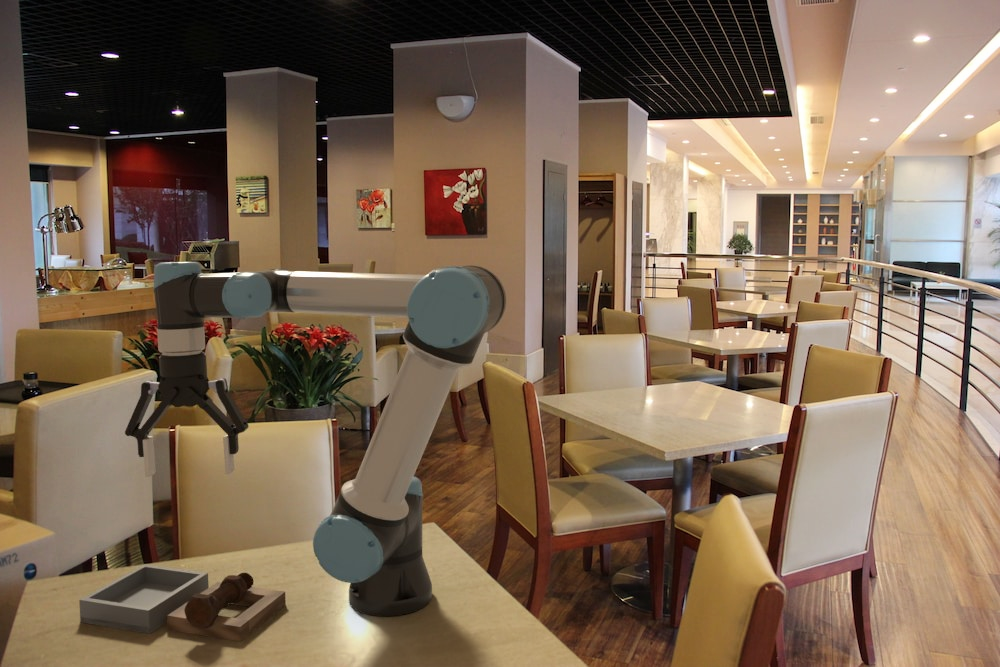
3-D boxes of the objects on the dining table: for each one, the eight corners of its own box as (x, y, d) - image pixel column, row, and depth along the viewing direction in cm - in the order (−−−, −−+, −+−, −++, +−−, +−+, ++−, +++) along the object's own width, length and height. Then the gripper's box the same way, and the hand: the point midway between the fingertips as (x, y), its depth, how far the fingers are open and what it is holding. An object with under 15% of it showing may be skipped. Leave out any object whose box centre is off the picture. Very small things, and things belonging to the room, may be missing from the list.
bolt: (242, 559, 146) (194, 589, 132) (264, 575, 146) (219, 607, 131) (228, 584, 147) (178, 618, 133) (250, 600, 147) (202, 636, 132)
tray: (208, 593, 150) (208, 572, 150) (149, 633, 135) (148, 610, 135) (145, 584, 154) (144, 564, 154) (80, 622, 139) (79, 599, 138)
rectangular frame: (285, 604, 146) (285, 591, 146) (240, 641, 133) (240, 626, 132) (218, 595, 150) (217, 582, 150) (167, 629, 136) (167, 615, 136)
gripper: (261, 347, 143) (268, 465, 145) (117, 351, 142) (126, 469, 144) (250, 353, 135) (257, 477, 138) (98, 357, 134) (107, 482, 137)
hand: (190, 473), depth 141 cm, fingers open, 13 cm apart
